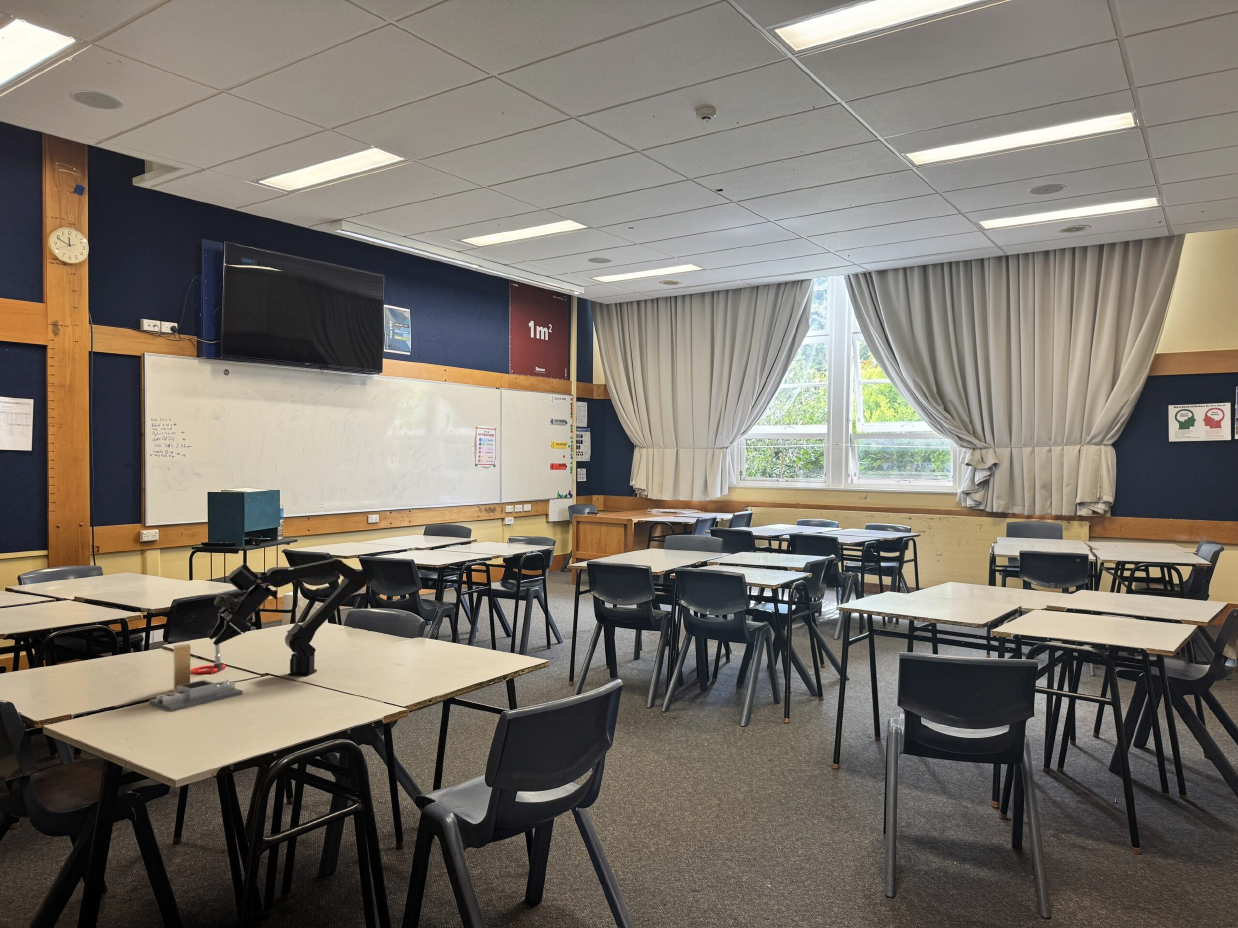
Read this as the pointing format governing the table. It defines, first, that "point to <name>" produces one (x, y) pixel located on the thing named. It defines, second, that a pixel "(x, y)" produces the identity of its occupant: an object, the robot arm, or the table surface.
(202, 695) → the grey fixture tray
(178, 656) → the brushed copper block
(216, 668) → the tow hook
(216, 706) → the table surface
